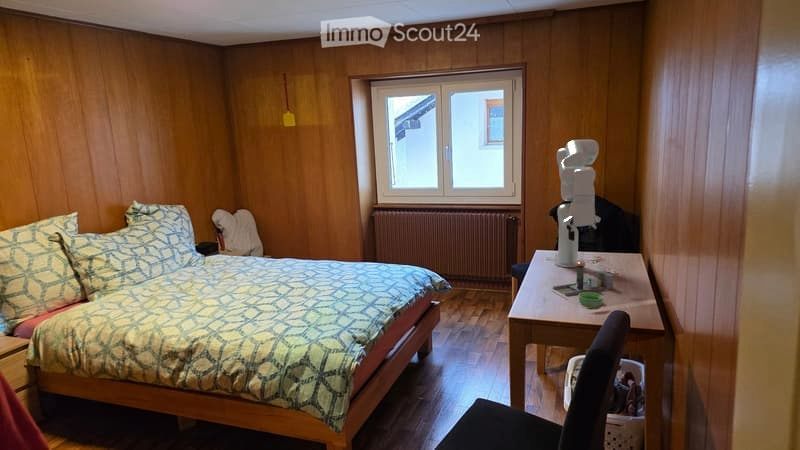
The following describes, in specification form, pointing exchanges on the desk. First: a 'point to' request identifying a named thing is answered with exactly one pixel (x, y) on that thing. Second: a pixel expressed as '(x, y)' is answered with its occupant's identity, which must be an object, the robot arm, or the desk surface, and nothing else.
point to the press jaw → (583, 279)
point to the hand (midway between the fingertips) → (581, 238)
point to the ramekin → (590, 299)
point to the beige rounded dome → (598, 283)
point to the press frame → (606, 285)
